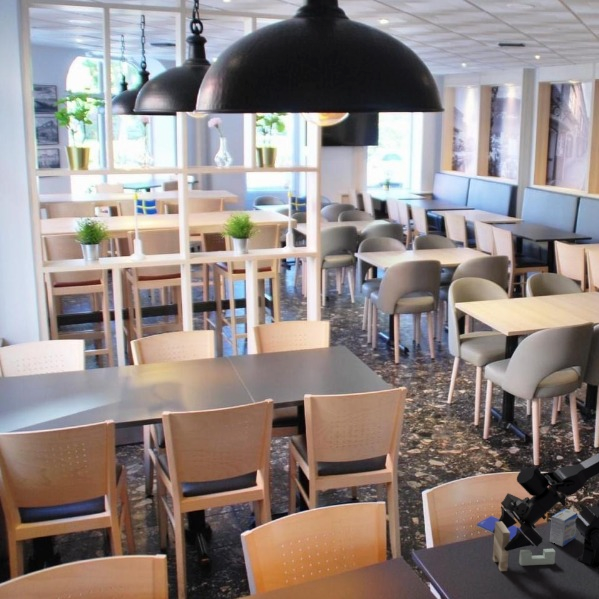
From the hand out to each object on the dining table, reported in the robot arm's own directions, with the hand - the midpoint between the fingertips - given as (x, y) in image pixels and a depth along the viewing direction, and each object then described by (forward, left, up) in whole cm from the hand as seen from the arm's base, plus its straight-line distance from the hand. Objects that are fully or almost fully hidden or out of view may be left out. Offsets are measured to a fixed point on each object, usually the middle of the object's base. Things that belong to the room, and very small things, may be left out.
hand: (499, 541), depth 227 cm
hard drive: (-18, -11, -8) cm, 23 cm away
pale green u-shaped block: (-9, +7, -7) cm, 14 cm away
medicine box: (-27, +5, -8) cm, 29 cm away
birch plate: (-1, 0, -7) cm, 8 cm away
